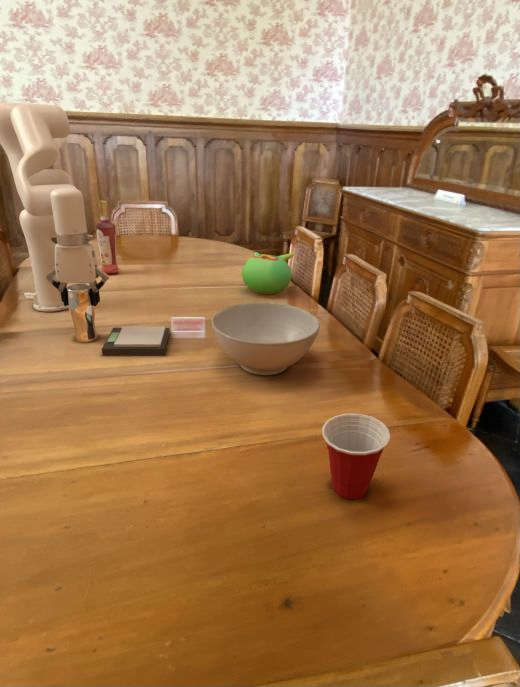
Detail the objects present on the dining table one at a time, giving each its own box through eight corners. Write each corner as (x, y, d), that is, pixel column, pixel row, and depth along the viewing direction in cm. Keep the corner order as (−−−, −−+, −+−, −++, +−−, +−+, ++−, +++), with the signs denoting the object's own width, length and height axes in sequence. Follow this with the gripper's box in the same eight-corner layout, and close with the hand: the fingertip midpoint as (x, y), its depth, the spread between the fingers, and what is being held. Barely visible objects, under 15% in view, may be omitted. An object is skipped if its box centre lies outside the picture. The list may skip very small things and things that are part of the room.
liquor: (123, 272, 190) (117, 201, 178) (109, 277, 184) (101, 203, 172) (111, 269, 193) (103, 199, 181) (96, 273, 187) (88, 201, 176)
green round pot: (234, 295, 169) (235, 255, 163) (252, 282, 183) (253, 245, 177) (281, 302, 163) (283, 261, 157) (296, 289, 177) (299, 250, 171)
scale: (102, 355, 123) (101, 345, 122) (113, 333, 135) (112, 324, 134) (164, 355, 124) (163, 345, 123) (170, 333, 137) (169, 325, 135)
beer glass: (91, 344, 128) (84, 292, 122) (68, 341, 130) (60, 289, 123) (103, 334, 135) (97, 284, 128) (81, 332, 136) (74, 282, 129)
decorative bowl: (325, 351, 129) (329, 310, 124) (301, 399, 106) (305, 351, 101) (235, 335, 137) (235, 296, 131) (193, 377, 114) (192, 331, 108)
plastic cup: (310, 467, 85) (316, 411, 80) (369, 465, 86) (378, 410, 81) (323, 512, 75) (330, 452, 70) (388, 509, 76) (400, 450, 71)
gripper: (110, 236, 124) (117, 300, 132) (42, 235, 123) (53, 299, 131) (103, 243, 118) (111, 309, 125) (32, 242, 116) (43, 309, 124)
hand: (81, 304), depth 128 cm, fingers closed on beer glass, 7 cm apart
